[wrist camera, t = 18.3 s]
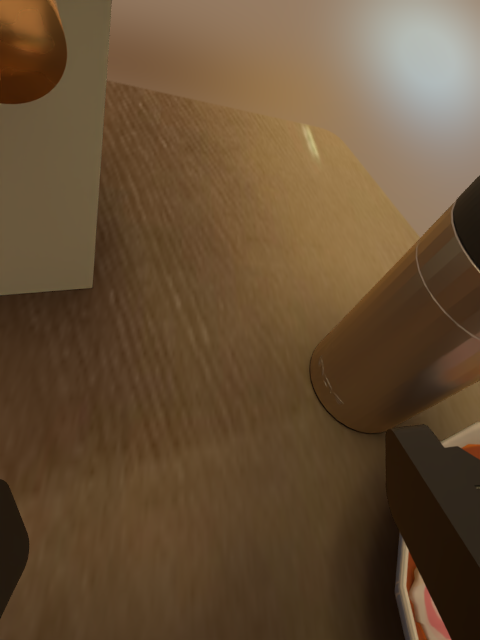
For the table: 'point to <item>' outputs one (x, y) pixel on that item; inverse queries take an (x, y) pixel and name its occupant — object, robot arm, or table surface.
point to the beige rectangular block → (56, 165)
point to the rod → (30, 49)
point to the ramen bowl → (411, 593)
